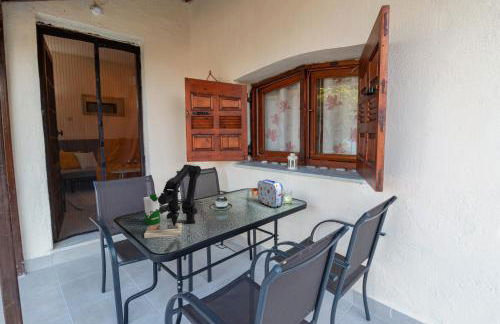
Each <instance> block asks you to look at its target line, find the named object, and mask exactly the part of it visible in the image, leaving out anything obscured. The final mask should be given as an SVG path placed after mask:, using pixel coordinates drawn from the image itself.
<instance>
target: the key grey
mask: <svg viewBox="0 0 500 324" xmlns="http://www.w3.org/2000/svg"><path fill="white" fill-rule="evenodd" d="M168 224H169V222H167V221H166V222H160V223H159V225H160V230H167V229H168Z"/></svg>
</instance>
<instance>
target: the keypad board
mask: <svg viewBox="0 0 500 324" xmlns="http://www.w3.org/2000/svg"><path fill="white" fill-rule="evenodd" d="M171 224H172V223H168V229H167V230H160V224H155V225H148V227H147V229H146V230H145V231H144V234H143V235H144V239H149V238H150V239H151V238H164V237H176V236H181V233H182V229H183V223H182V222H181V223H177V224H178V229H171ZM156 225H158V230H154V231H150V227H151V226H156Z"/></svg>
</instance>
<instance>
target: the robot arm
mask: <svg viewBox="0 0 500 324" xmlns="http://www.w3.org/2000/svg"><path fill="white" fill-rule="evenodd" d="M201 172H202V168H201V166H200V165H193V164H184V165H183V166H182V167H181V169H180V170H179V171H178V172H177V174H175V176H173V177H172V178H171V177H170V178H169V179H168V180H167V181H166V182H165V185H164V188H163V190H162V192H161V193H160V195H159V196H158V197H159V198H158V202H159V205H161V206H159V212H160V215H162V214H164V213H166V212H167V214H166V220H171V222H172V223H171V224H173V226H175V225H176V224H177V223H178V219H179V216H180V212H179V211H182V214H183V215H184V214H185V224H186V225H189V224H196V219H195V217H196V215H197V214H198V209H197V207H196V202H195V200H194V199H195V193H196V187H197V179H198V178H199V177H200V175H201ZM187 175H188V178H189V180H188V185H187V191H186V197H185V198H184V200H182V202H181V206H180V205H179V203H180V201H179V193H180V192H181V191H180V190H179V189H180V187H181V186H182V181H183V180H184V179H185V178H186V176H187Z"/></svg>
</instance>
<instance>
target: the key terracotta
mask: <svg viewBox="0 0 500 324" xmlns="http://www.w3.org/2000/svg"><path fill="white" fill-rule="evenodd" d="M155 225H156V226H151V227H150V231H154V230H158V225H159V224H155Z"/></svg>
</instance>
